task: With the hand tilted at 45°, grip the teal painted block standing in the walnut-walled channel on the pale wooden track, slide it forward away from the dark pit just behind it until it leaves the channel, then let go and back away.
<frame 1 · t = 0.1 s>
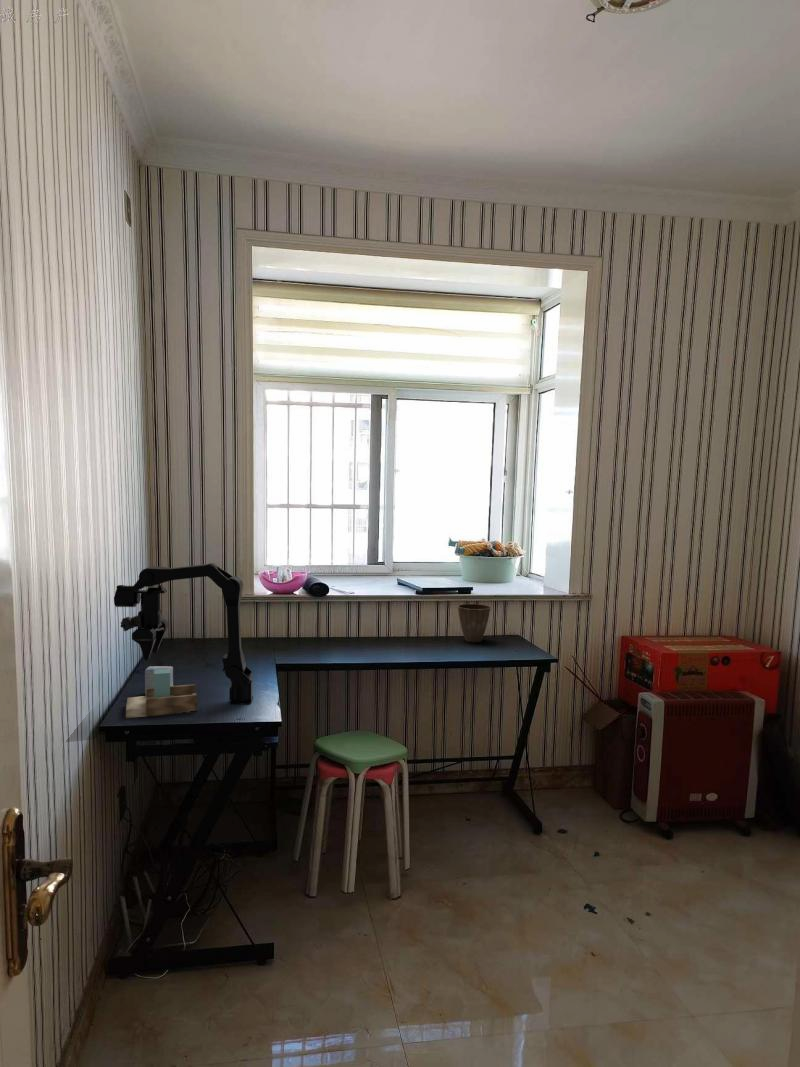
hand: (150, 656, 206), 15 cm above the table, tool pointing down, fingers open, 9 cm apart
medicine box: (159, 694, 216), on the table
teal block: (162, 700, 201), point 2 cm above the table, touching channel track
plant pot: (473, 641, 303), on the table
channel track: (160, 708, 201), on the table
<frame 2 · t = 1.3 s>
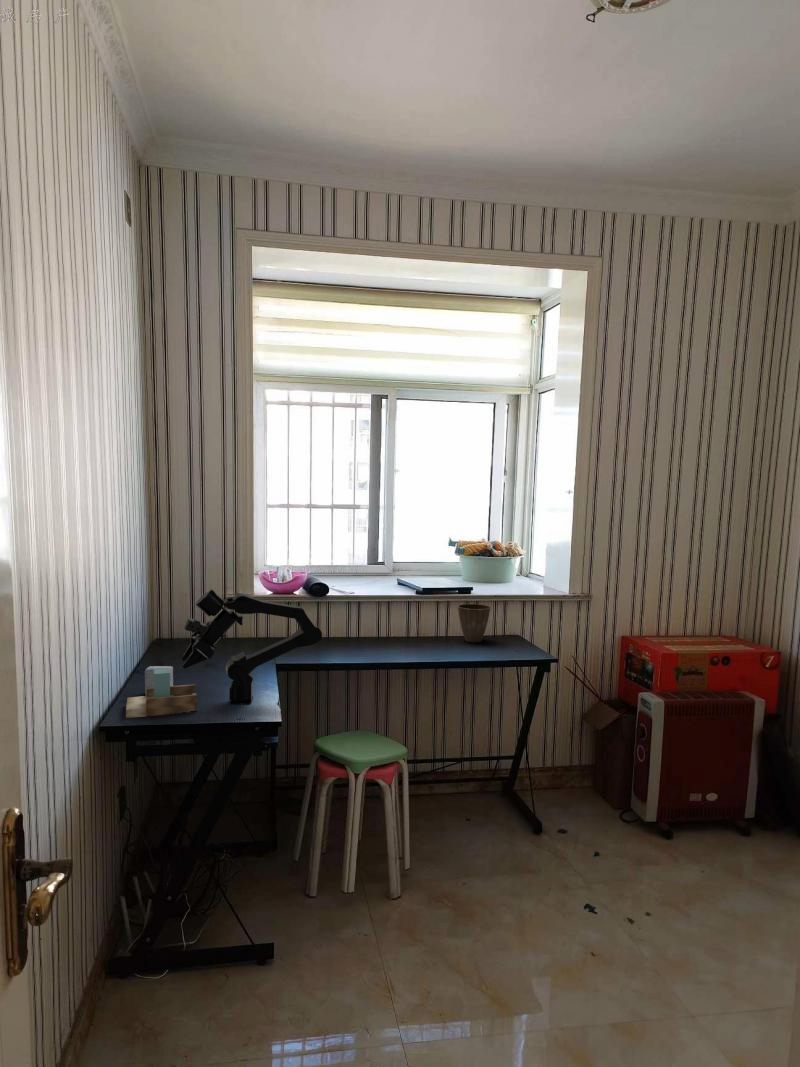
hand: (182, 663, 203), 13 cm above the table, tool tilted 45°, fingers open, 9 cm apart
nothing on the table moved.
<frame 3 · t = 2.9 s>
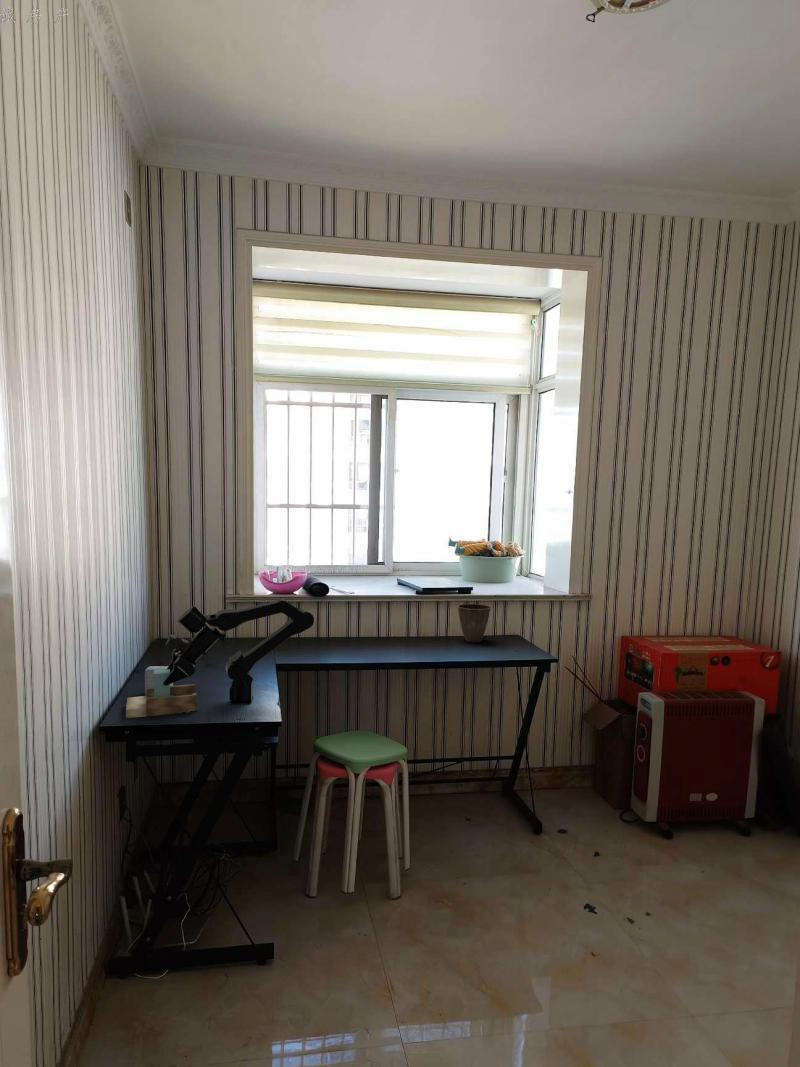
hand: (163, 680, 201), 9 cm above the table, tool tilted 45°, fingers open, 9 cm apart
nothing on the table moved.
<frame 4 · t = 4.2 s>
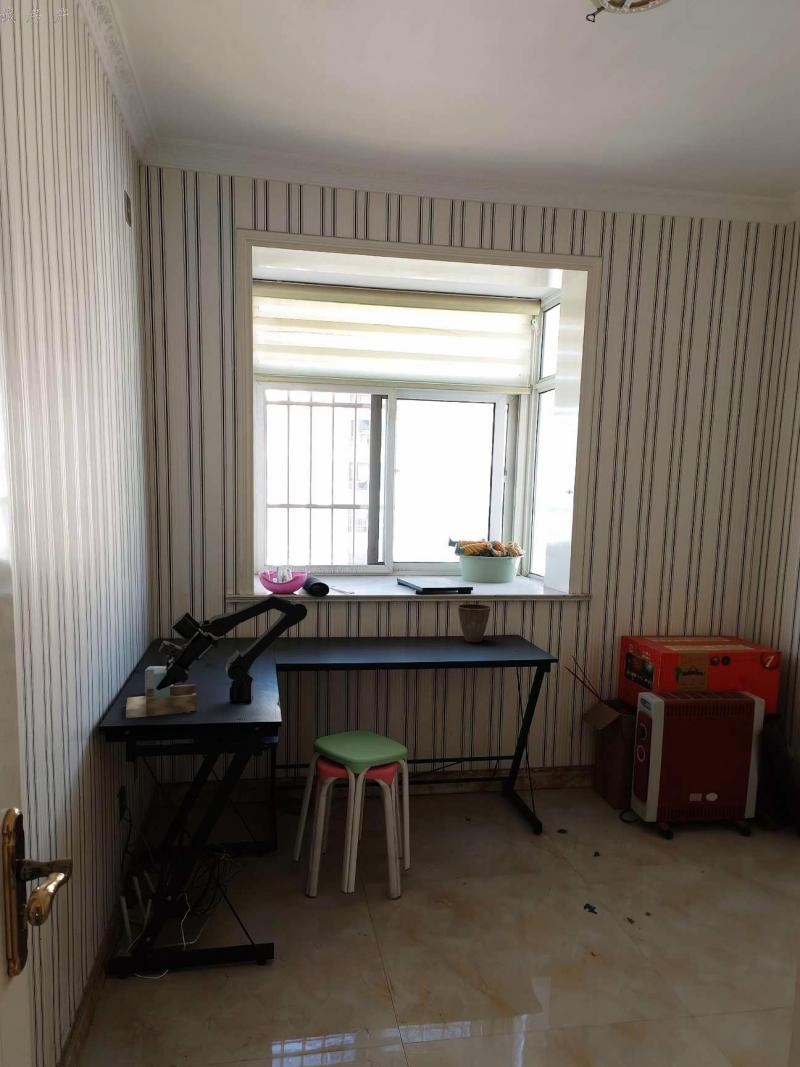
hand: (157, 687, 200), 7 cm above the table, tool tilted 45°, fingers closed on teal block, 4 cm apart
teal block: (162, 700, 201), point 2 cm above the table, touching channel track, gripper
everything else where it was.
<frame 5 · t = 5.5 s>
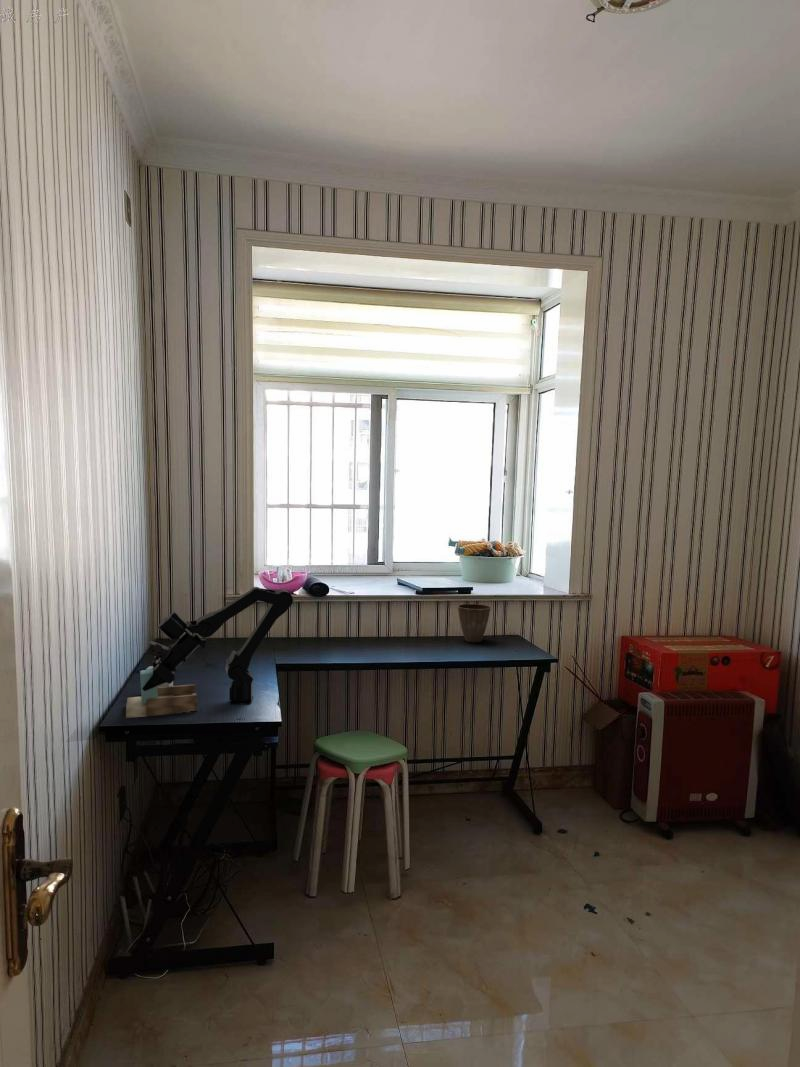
hand: (143, 687, 199), 7 cm above the table, tool tilted 45°, fingers closed on teal block, 4 cm apart
teal block: (149, 700, 200), point 3 cm above the table, touching gripper
everything else where it was.
when the fingers open (7 cm above the table, at t = 7.2 s): teal block stays where it is, resting on channel track.
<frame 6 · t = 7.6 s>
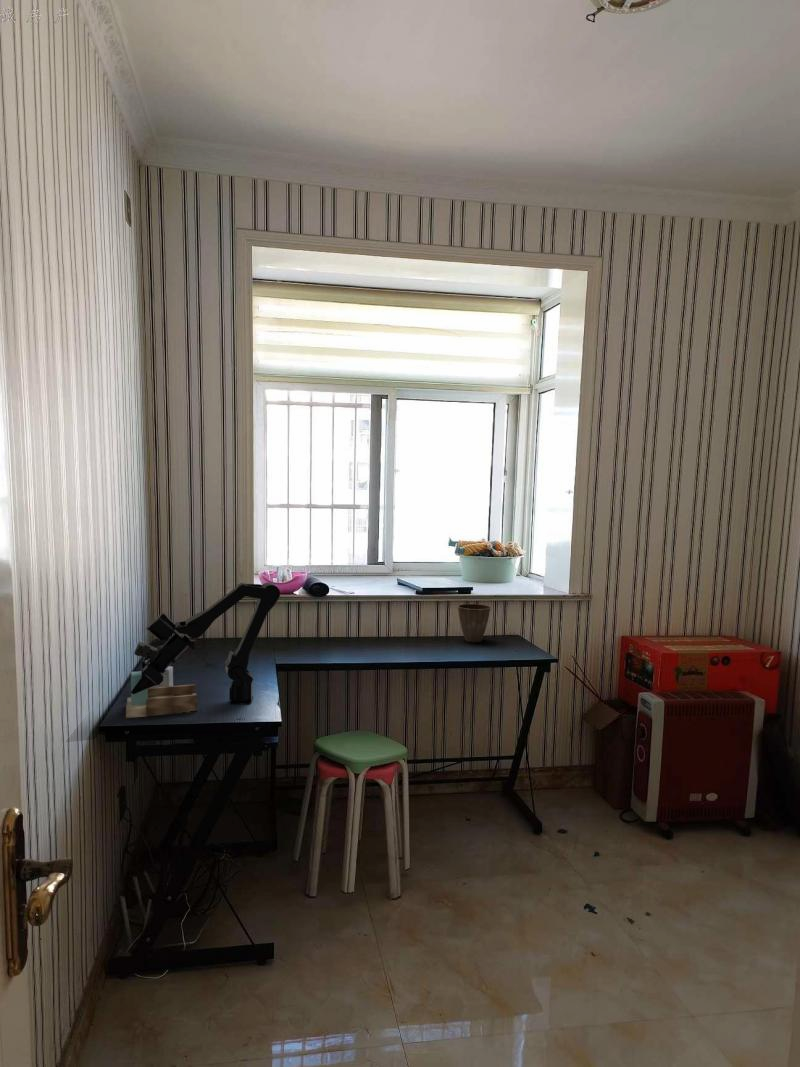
hand: (132, 689, 198), 7 cm above the table, tool tilted 45°, fingers open, 8 cm apart
teal block: (139, 702, 199), point 2 cm above the table, touching channel track
everything else where it was.
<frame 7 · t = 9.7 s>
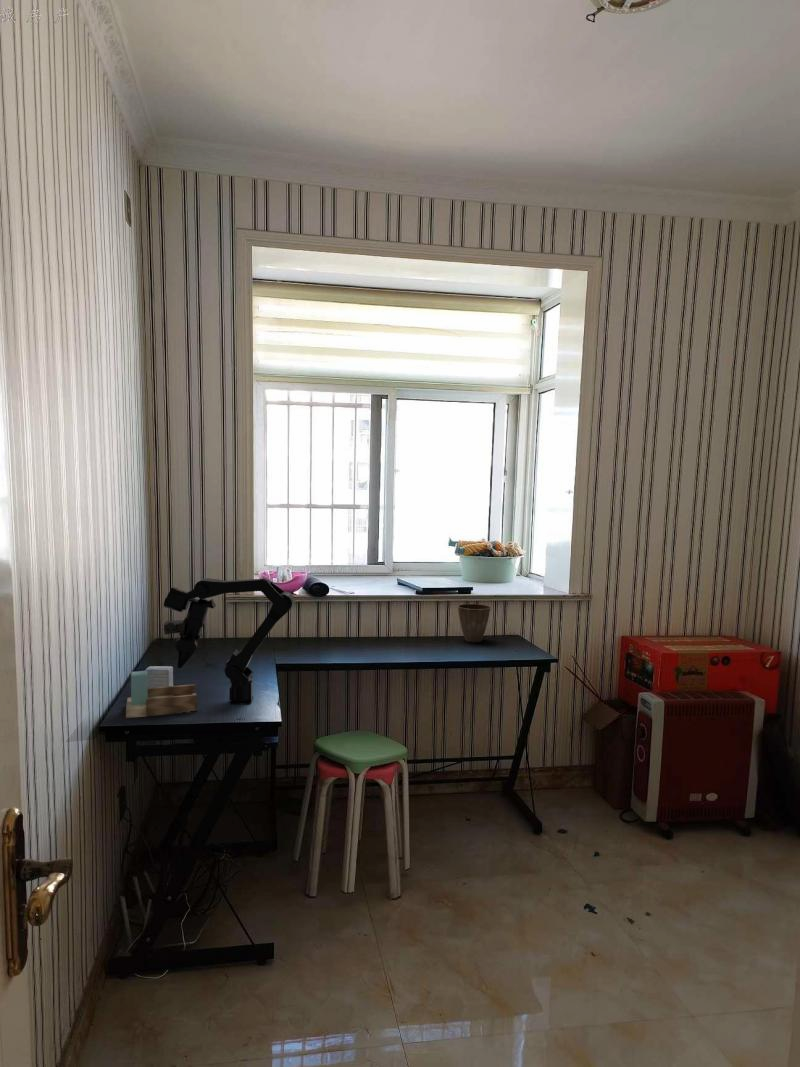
hand: (180, 663, 208), 12 cm above the table, tool tilted 20°, fingers open, 9 cm apart
nothing on the table moved.
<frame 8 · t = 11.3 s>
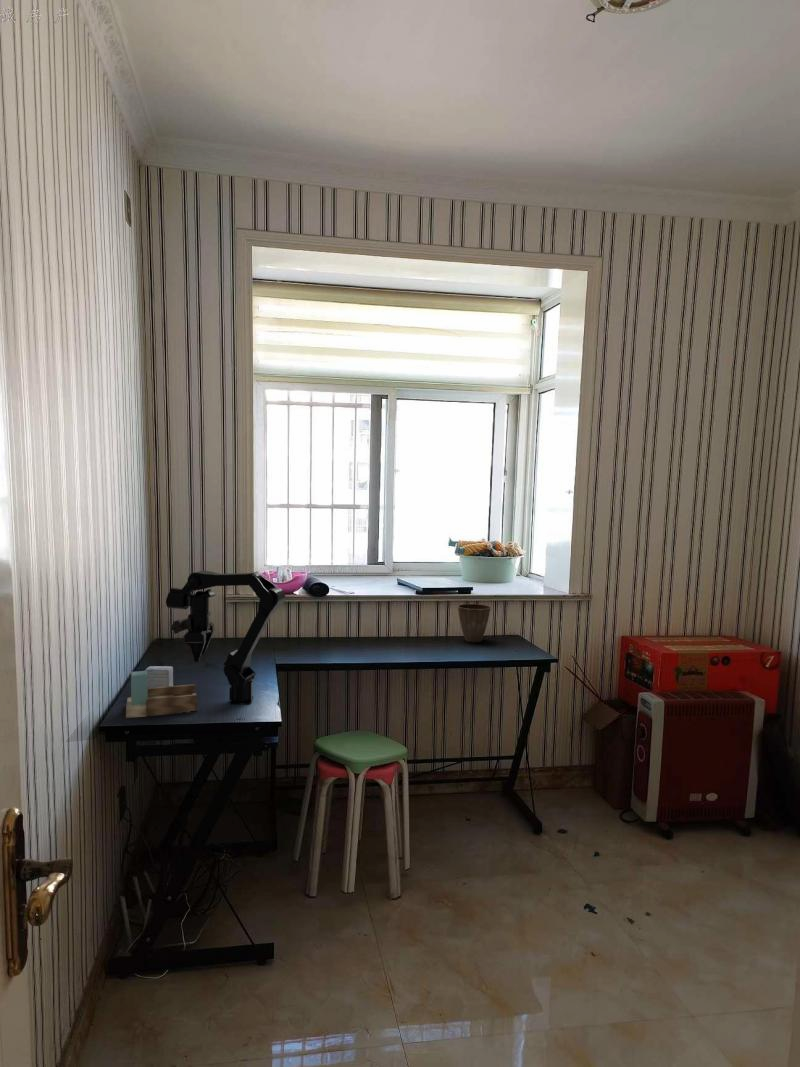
hand: (199, 658, 212), 13 cm above the table, tool pointing down, fingers open, 9 cm apart
nothing on the table moved.
at the end: teal block 0.8 cm from the target spot on the channel track, point 2.5 cm above the channel track's base; teal block tilted 0°; the gripper is holding nothing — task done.
